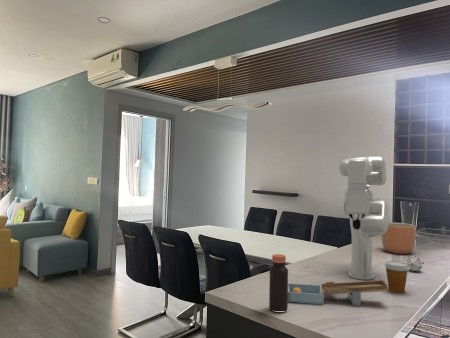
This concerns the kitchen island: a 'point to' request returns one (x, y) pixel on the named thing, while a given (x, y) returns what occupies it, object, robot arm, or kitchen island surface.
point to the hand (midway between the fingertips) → (356, 229)
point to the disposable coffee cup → (396, 276)
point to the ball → (296, 290)
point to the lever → (354, 287)
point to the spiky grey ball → (414, 264)
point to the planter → (399, 238)
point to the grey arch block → (355, 298)
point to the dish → (305, 294)
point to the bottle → (278, 284)
